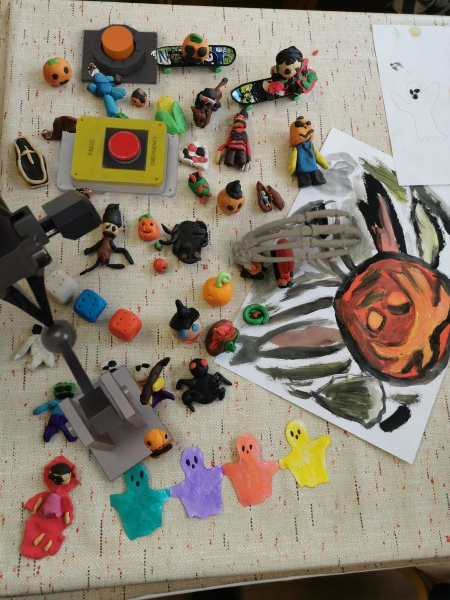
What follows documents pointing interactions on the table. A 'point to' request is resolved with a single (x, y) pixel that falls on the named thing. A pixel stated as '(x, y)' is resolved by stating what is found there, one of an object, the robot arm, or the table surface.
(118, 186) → the emergency button
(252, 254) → the skeletal hand
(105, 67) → the button box
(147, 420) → the switch bracket
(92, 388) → the switch lever
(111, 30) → the orange button
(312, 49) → the table surface
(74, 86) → the table surface
